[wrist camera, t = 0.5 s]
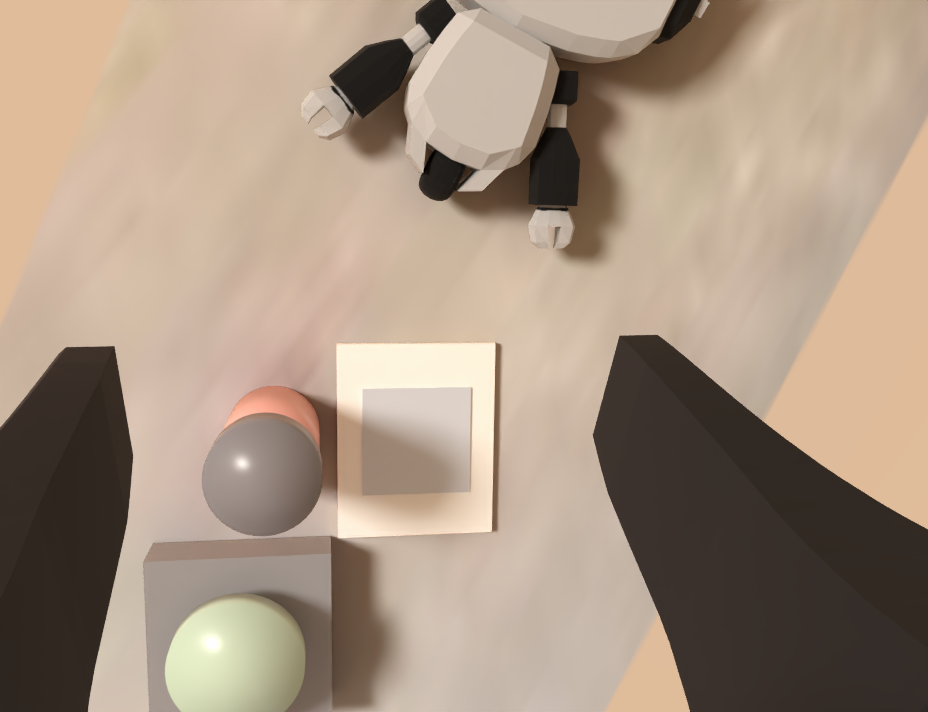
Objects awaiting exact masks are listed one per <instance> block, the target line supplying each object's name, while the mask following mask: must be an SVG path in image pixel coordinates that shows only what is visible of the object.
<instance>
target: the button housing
mask: <svg viewBox="0 0 928 712" xmlns="http://www.w3.org/2000/svg"><path fill="white" fill-rule="evenodd" d="M143 568H144V593H145V617H146V642H147V667H148V691H149V712H181V711H180V710H179V709H178V707H177V706H176V705H175V703H174V702H173V700H172V698H171V696H170V694H169V691H168V688H167V684H166V679H165V664H166V658H167V655H168V652H169V649H170V646H171V643H172V640H173V637H174V635H175V633H176V631H177V629H178V627H179V626H180V624H181V623H182V621H183V620H184V619H185V618H186V617H187V616H188V614H190V613H191V612H192V611H193V610H194V609H195V608H197V607H198V606H200V605H201V604H203V603H205V602H207V601H209V600H211V599H213V598H216V597H219V596H223V595H227V594H235V593H247V594H255V595H258V596H262V597H265V598H268V599H270V600H272V601H274V602H276V603H277V604H279V605H280V606H282V607H283V608H284V609H286V610H287V611H288V612H289V613H290V614H291V615H292V617H293V618H294V619H295V621H296V622H297V624H298V626H299V627H300V629H301V632H302V634H303V638H304V642H305V650H306V656H305V674H304V679H303V683H302V686H301V689H300V691H299V693H298V695H297V697H296V698H295V700H294V701H293V703H292V704H291V705H290V706H289V707H288V709H287V710H286V711H285V712H332V604H331V536H317V537H293V538H269V539H245V540H220V541H196V542H172V543H153V545H152V546H151V548H150V550H149V552H148V554H147V556H146V558H145V560H144V562H143Z"/></svg>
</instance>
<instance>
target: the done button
mask: <svg viewBox="0 0 928 712" xmlns="http://www.w3.org/2000/svg"><path fill="white" fill-rule="evenodd" d="M305 656H306V650H305V642H304V638H303V634H302V632H301V629H300V627H299V626H298V624H297V622H296V621H295V619H294V618H293V617H292V615H291V614H290V613H289V612H288V611H287V610H286V609H284V608H283V607H282V606H280V605H279V604H277V603H276V602H274V601H272V600H270V599H268V598H265V597H262V596H258V595H255V594H247V593H235V594H227V595H223V596H219V597H216V598H213V599H211V600H209V601H207V602H205V603H203V604H201V605H200V606H198V607H197V608H195V609H194V610H193V611H192V612H191V613H190V614H188V616H187V617H186V618H185V619H184V620H183V621H182V623H181V624H180V626H179V627H178V629H177V631H176V633H175V635H174V637H173V640H172V643H171V646H170V649H169V652H168V655H167V658H166V664H165V679H166V684H167V688H168V691H169V694H170V696H171V698H172V700H173V702H174V703H175V705H176V706H177V707H178V709H179V710H180V711H181V712H285V711H286V710H287V709H288V707H289V706H290V705H291V704H292V703H293V701H294V700H295V698H296V697H297V695H298V693H299V691H300V689H301V686H302V683H303V679H304V674H305Z"/></svg>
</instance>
